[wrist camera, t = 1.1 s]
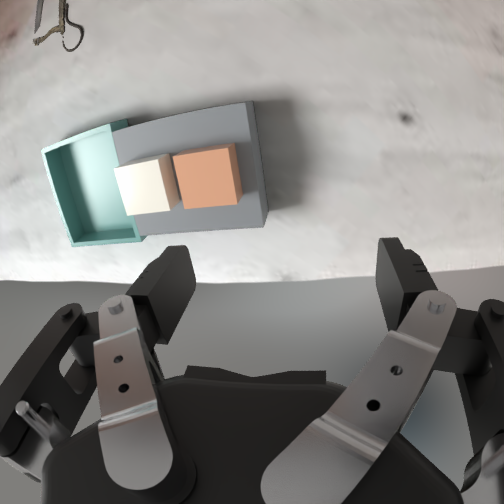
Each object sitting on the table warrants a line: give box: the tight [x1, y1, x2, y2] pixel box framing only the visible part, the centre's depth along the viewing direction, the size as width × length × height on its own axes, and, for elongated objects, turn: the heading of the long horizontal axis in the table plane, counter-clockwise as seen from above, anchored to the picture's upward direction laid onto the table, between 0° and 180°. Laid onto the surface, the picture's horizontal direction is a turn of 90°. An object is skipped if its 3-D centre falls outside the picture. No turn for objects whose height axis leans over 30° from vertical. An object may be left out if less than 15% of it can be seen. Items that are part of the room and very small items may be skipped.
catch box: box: [41, 119, 148, 247], centre depth 33 cm, size 12×14×4 cm
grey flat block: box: [112, 101, 269, 236], centre depth 30 cm, size 14×12×4 cm
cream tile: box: [114, 153, 180, 216], centre depth 28 cm, size 5×5×2 cm
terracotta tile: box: [173, 143, 243, 209], centre depth 27 cm, size 5×5×2 cm
